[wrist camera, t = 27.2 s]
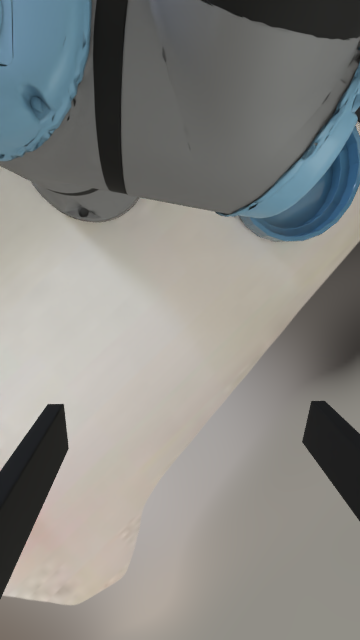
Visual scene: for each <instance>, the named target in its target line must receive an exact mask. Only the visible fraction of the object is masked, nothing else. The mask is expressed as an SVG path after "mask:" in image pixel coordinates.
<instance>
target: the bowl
mask: <svg viewBox="0 0 360 640" xmlns="http://www.w3.org/2000/svg"><path fill="white" fill-rule="evenodd" d="M359 185H360V136H359V133H358V131H357V129H356V126H355V127H354V129H353V131H352V133H351V135H350V136H349V138H348V140H347V141H346V143H345V145H344V146H343V148H342V150H341V151H340V153H339V154H338V156H337V157H336V159H335V160H334V162H333V163H332V165H331V166H330V167H329V169H328V170H327V171H326V173H325V174H324V175H323V176H322V177H321V179H320V180H319V181H318V182H317V183H316V184H315V185H314V187H313V188H312V189H311V190H310V191H309V192H308V193H307V194H306V195H305V196H304V197H303V198H301V199H300V200H299V201H298V202H297V203H295V204H294V205H293V206H291V207H290V208H288V209H287V210H285V211H283V212H281V213H279V214H277V215H274V216H272V217H266V218H252V217H245V216H239V217H240V218H241V220H242V221H243V223H244V225H245V226H246V227H247V228H249V229H250V230H251V231H252V232H254V233H255V234H256V235H257V236H259V237H261V238H265V239H268V240H271V241H274V242H283V241H304V240H307V239H309V238H312V237H315V236H317V235H320V234H322V233H323V232H325V231H326V230H327V229H329V228H330V227H331V226H333V225H334V224H335V223H337V222H338V221H339V219H340V218H341V217H342V215H343V214H344V213H345V212H346V210H347V209H348V208H349V206H350V205H351V203H352V201H353V199H354V196H355V194H356V192H357V189H358V187H359Z"/></svg>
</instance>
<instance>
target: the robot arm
mask: <svg viewBox="0 0 360 640" xmlns="http://www.w3.org/2000/svg"><path fill="white" fill-rule="evenodd" d="M359 106H360V0H0V166H2V167H4V168H6V169H8V170H10V171H12V172H14V173H16V174H18V175H20V176H22V177H24V178H26V179H28V180H30V181H31V182H32V183H33V185H34V186H35V188H36V189H37V191H38V192H39V193H40V194H41V195H42V196H43V197H44V199H46V200H47V201H48V202H49V203H50V204H51V205H52V206H54V207H55V208H56V209H57V210H59V211H61V212H62V213H64V214H66V215H68V216H70V217H73V218H75V219H79V220H82V221H87V222H105V221H110V220H113V219H116V218H118V217H120V216H122V215H123V214H125V213H126V212H127V211H129V210H130V209H131V208H132V207H133V206H134V205H135V204H136V202H137V201H138V199H139V198H146V199H151V200H156V201H162V202H167V203H172V204H178V205H183V206H188V207H194V208H199V209H204V210H210V211H215V212H216V213H217V214H219V215H221V216H225V217H228V216H237V215H238V216H245V217H252V218H266V217H272V216H274V215H277V214H279V213H281V212H283V211H285V210H287V209H288V208H290V207H291V206H293V205H294V204H295V203H297V202H298V201H299V200H300V199H301V198H303V197H304V196H305V195H306V194H307V193H308V192H309V191H310V190H311V189H312V188H313V187H314V185H315V184H316V183H317V182H318V181H319V180H320V179H321V177H322V176H323V175H324V174H325V173H326V171H327V170H328V169H329V167H330V166H331V165H332V163H333V162H334V160H335V159H336V157H337V156H338V154H339V153H340V151H341V150H342V148H343V146H344V145H345V143H346V141H347V140H348V138H349V136H350V135H351V133H352V131H353V129H354V127H355V125H356V123H357V121H358V117H357V115H356V114H355V112H356V110H357V109H358V108H359ZM302 442H303V444H304V445H305V446H306V448H307V449H308V451H309V452H310V453H311V455H312V456H313V457H314V459H315V460H316V462H317V463H318V464H319V466H320V467H321V468H322V470H323V471H324V473H325V474H326V475H327V477H328V478H329V479H330V481H331V482H332V484H333V485H334V486H335V488H336V489H337V490H338V492H339V493H340V495H341V496H342V497H343V499H344V500H345V501H346V503H347V504H348V506H349V507H350V508H351V510H352V511H353V513H354V514H355V515H356V516H357V518H358V519H359V521H360V434H359V433H358V432H357V431H356V430H355V429H354V428H353V427H352V426H351V425H350V424H349V423H348V422H347V421H345V420H344V419H343V418H342V417H341V416H340V415H339V414H338V413H337V412H336V411H335V410H334V409H333V408H332V407H331V406H330V405H328V404H327V403H326V402H325V401H312V402H311V405H310V410H309V414H308V419H307V423H306V428H305V432H304V437H303V441H302ZM68 449H69V448H68V439H67V430H66V421H65V412H64V404H48V405H47V406H46V408H45V409H44V410H43V412H42V413H41V415H40V416H39V418H38V419H37V420H36V422H35V423H34V425H33V426H32V427H31V429H30V430H29V432H28V433H27V434H26V436H25V437H24V439H23V440H22V441H21V443H20V444H19V446H18V447H17V448H16V450H15V451H14V453H13V454H12V456H11V457H10V458H9V460H8V461H7V463H6V464H5V465H4V467H3V468H2V470H1V471H0V599H1V597H2V594H3V592H4V590H5V588H6V586H7V583H8V581H9V579H10V577H11V575H12V572H13V570H14V568H15V566H16V563H17V561H18V559H19V557H20V555H21V552H22V550H23V548H24V546H25V544H26V541H27V539H28V537H29V535H30V533H31V530H32V528H33V526H34V524H35V522H36V519H37V517H38V515H39V513H40V510H41V508H42V506H43V504H44V502H45V499H46V497H47V495H48V493H49V491H50V488H51V486H52V484H53V482H54V480H55V477H56V475H57V473H58V471H59V468H60V466H61V464H62V462H63V460H64V457H65V455H66V453H67V451H68Z"/></svg>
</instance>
